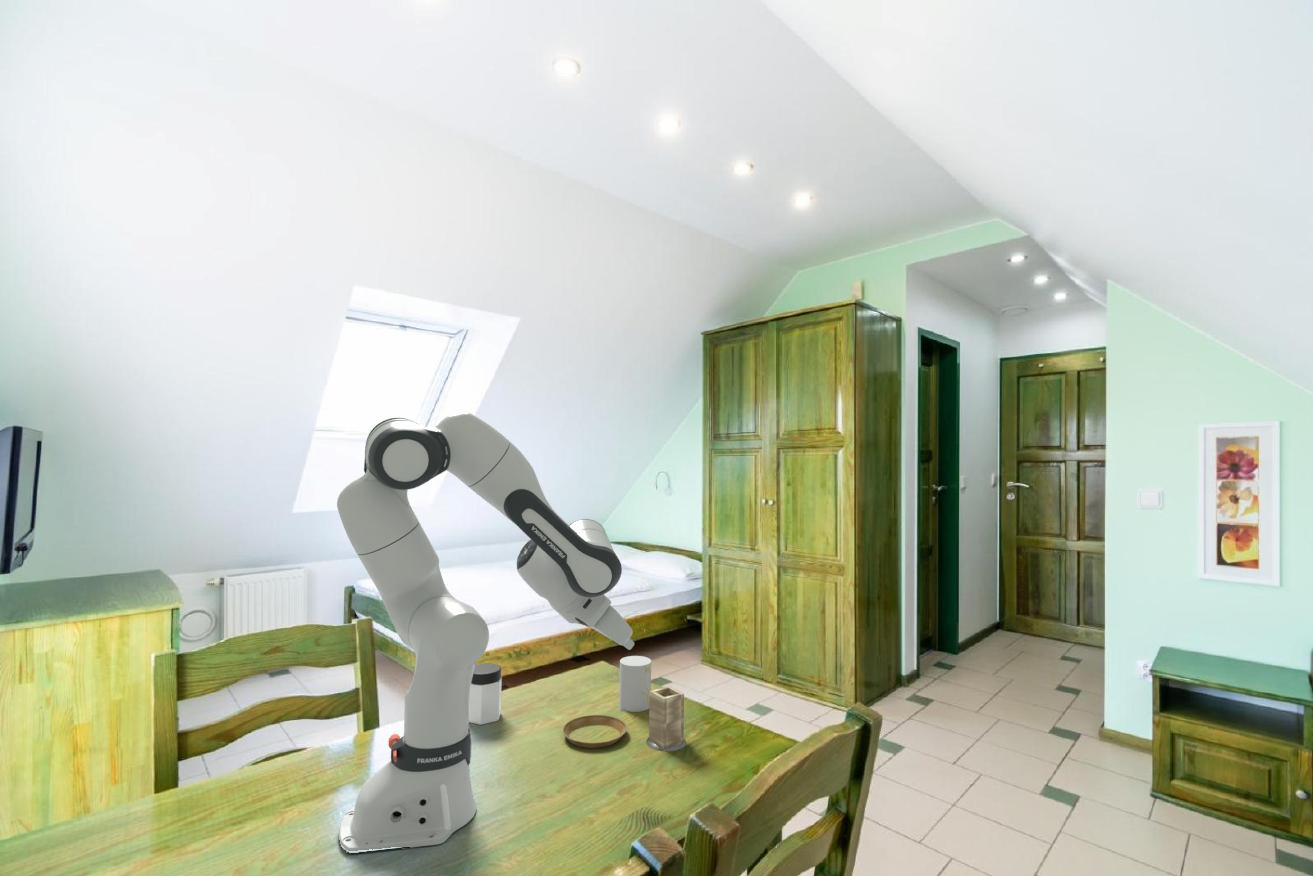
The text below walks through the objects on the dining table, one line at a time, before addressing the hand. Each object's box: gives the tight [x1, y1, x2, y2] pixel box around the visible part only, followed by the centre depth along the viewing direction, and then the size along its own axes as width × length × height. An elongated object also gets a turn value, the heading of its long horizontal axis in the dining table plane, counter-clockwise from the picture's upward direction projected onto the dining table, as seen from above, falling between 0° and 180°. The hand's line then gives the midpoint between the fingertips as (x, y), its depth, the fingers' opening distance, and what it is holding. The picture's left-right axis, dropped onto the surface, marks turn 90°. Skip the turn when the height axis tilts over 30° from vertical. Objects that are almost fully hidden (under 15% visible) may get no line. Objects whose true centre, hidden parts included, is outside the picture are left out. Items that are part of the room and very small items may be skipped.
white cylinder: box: [618, 655, 652, 713], centre depth 162 cm, size 8×8×12 cm
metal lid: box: [645, 737, 687, 752], centre depth 142 cm, size 9×9×4 cm
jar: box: [469, 662, 503, 726], centre depth 155 cm, size 9×8×12 cm
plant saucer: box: [562, 714, 628, 749], centre depth 144 cm, size 15×15×3 cm
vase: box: [648, 686, 685, 750], centre depth 142 cm, size 7×6×11 cm
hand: (619, 639), depth 133 cm, fingers open, 8 cm apart
